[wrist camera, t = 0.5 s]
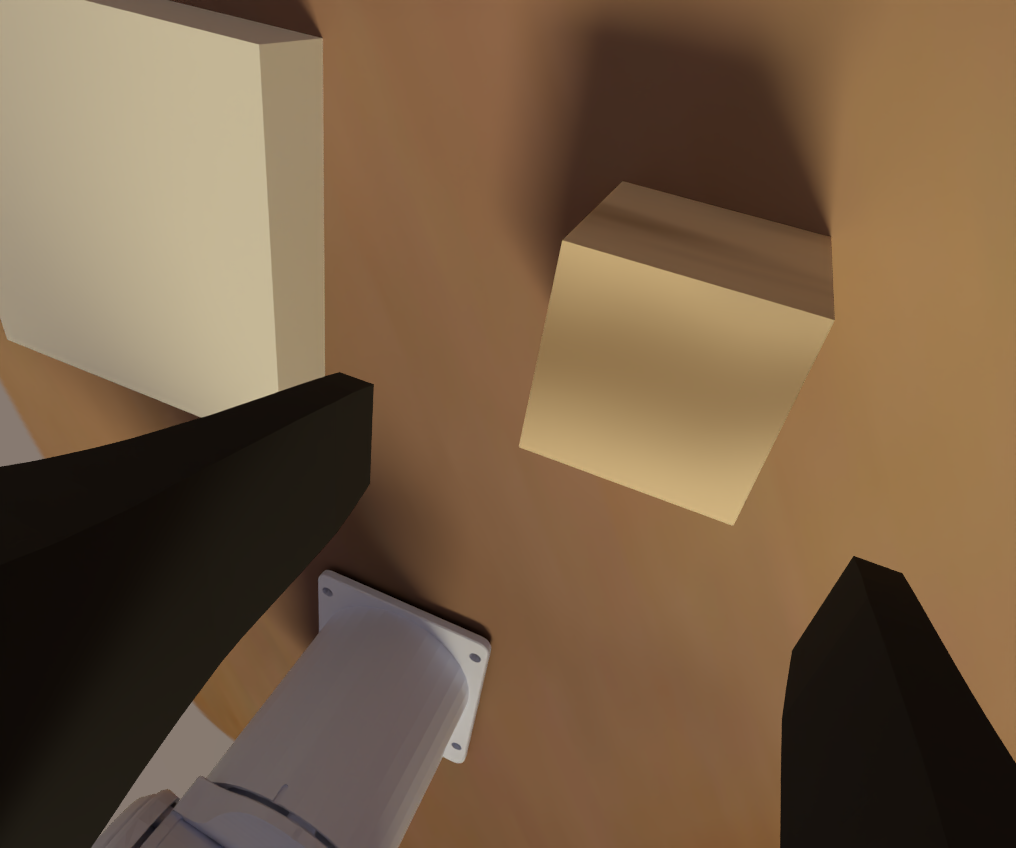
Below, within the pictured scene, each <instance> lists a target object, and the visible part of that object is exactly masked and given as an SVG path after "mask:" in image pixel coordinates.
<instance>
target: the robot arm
mask: <svg viewBox="0 0 1016 848" xmlns="http://www.w3.org/2000/svg"><path fill="white" fill-rule="evenodd" d="M373 387H374V384H371V383H368V382H365V381H363V380H360V379H357V378H354V377H351V376H349V375H346V374H343V373H340V372H339V373H335V374H331V375H328V376H324V377H321V378H318V379H315V380H312V381H309V382H306V383H303V384H300V385H297V386H294V387H291V388H288V389H285V390H282V391H279V392H276V393H273V394H271V395H268V396H265V397H262V398H259V399H256V400H253V401H250V402H247V403H244V404H241V405H238V406H235V407H232V408H229V409H226V410H223V411H221V412H218V413H215V414H212V415H209V416H205V417H202V418H199V419H195V420H192V421H189V422H185V423H182V424H179V425H175V426H172V427H169V428H165V429H162V430H159V431H155V432H152V433H149V434H145V435H142V436H139V437H135V438H131V439H128V440H124V441H120V442H116V443H112V444H108V445H104V446H100V447H96V448H92V449H88V450H83V451H79V452H74V453H70V454H65V455H61V456H56V457H51V458H47V459H42V460H37V461H32V462H26V463H20V464H14V465H9V466H2V467H0V848H398V847H399V845H400V843H401V841H402V839H403V837H404V835H405V833H406V831H407V828H408V826H409V824H410V822H411V820H412V818H413V816H414V814H415V812H416V810H417V808H418V806H419V804H420V802H421V800H422V798H423V796H424V794H425V792H426V790H427V788H428V786H429V784H430V782H431V780H432V778H433V776H434V774H435V772H436V769H437V767H438V765H439V763H440V761H441V759H442V757H444V758H446V759H449V760H451V761H453V762H455V763H462V762H463V761H464V760H465V758H466V755H467V751H468V747H469V743H470V738H471V734H472V730H473V726H474V721H475V717H476V713H477V708H478V704H479V700H480V695H481V691H482V687H483V682H484V678H485V674H486V669H487V665H488V661H489V656H490V652H491V645H490V643H489V641H488V640H487V639H486V638H484V637H482V636H480V635H478V634H475V633H473V632H471V631H468V630H466V629H464V628H462V627H459V626H457V625H455V624H452V623H450V622H448V621H446V620H443V619H441V618H439V617H436V616H434V615H432V614H430V613H427V612H425V611H423V610H421V609H418V608H416V607H414V606H411V605H409V604H407V603H405V602H402V601H400V600H398V599H395V598H393V597H391V596H389V595H386V594H384V593H382V592H379V591H377V590H375V589H373V588H370V587H368V586H366V585H363V584H361V583H359V582H357V581H354V580H352V579H350V578H347V577H345V576H343V575H341V574H338V573H336V572H334V571H331V570H325V571H323V572H322V574H321V575H320V576H319V578H318V600H319V633H318V635H317V636H316V637H315V639H314V640H313V641H312V642H311V644H310V645H309V646H308V648H307V649H306V650H305V651H304V653H303V654H302V655H301V657H300V658H299V659H298V660H297V662H296V663H295V664H294V666H293V667H292V668H291V669H290V671H289V672H288V673H287V675H286V676H285V677H284V678H283V680H282V681H281V682H280V684H279V685H278V686H277V687H276V689H275V690H274V691H273V693H272V694H271V695H270V696H269V698H268V699H267V700H266V702H265V703H264V704H263V705H262V707H261V708H260V709H259V711H258V712H257V713H256V714H255V716H254V717H253V718H252V720H251V721H250V722H249V723H248V725H247V726H246V727H245V729H244V730H243V731H242V732H241V734H240V735H239V736H238V738H237V739H236V740H235V741H234V743H233V744H232V745H231V747H230V748H229V749H228V750H227V752H226V753H225V754H224V756H223V757H222V758H221V759H220V761H219V762H218V764H217V765H216V766H215V767H214V768H213V770H212V771H211V772H210V774H209V775H208V776H207V777H206V778H204V777H203V776H199V777H198V778H197V779H196V781H195V782H194V783H193V784H192V786H191V787H190V788H189V789H188V791H187V792H186V793H185V795H184V796H183V797H182V798H181V800H180V799H179V798H178V797H177V796H176V795H175V794H174V793H173V792H172V791H170V790H168V789H166V790H161V791H160V792H158V793H157V794H152V795H148V796H145V797H141V798H139V799H137V800H136V801H134V802H133V803H132V804H131V805H130V806H129V807H128V808H126V809H125V810H124V811H123V812H122V813H121V814H120V815H119V816H118V817H117V818H116V819H115V820H114V822H112V823H111V825H109V827H108V828H107V829H106V830H105V831H104V832H103V833H102V834H101V832H102V831H103V829H104V828H105V826H106V825H107V823H108V822H109V820H110V819H111V817H112V816H113V814H114V813H115V811H116V810H117V808H118V807H119V805H120V804H121V802H122V800H123V799H124V798H125V796H126V795H127V793H128V792H129V790H130V789H131V787H132V786H133V784H134V783H135V781H136V780H137V778H138V777H139V775H140V774H141V772H142V771H143V769H144V768H145V766H146V765H147V764H148V763H149V761H150V759H151V758H152V757H153V755H154V754H155V753H156V751H157V750H158V748H159V747H160V745H161V744H162V743H163V741H164V740H165V738H166V737H167V736H168V734H169V733H170V731H171V730H172V728H173V727H174V726H175V724H176V723H177V721H178V720H179V718H180V717H181V716H182V714H183V713H184V712H185V710H186V709H187V708H188V706H189V705H190V704H191V702H192V701H193V700H194V698H195V697H196V696H197V694H198V693H199V692H200V690H201V689H202V687H203V686H204V685H205V683H206V682H207V681H208V679H209V678H210V677H211V675H212V674H213V673H214V671H215V670H216V669H217V667H218V666H219V665H220V663H221V662H222V661H223V660H224V658H225V657H226V656H227V655H228V654H229V652H230V651H231V650H232V649H233V648H234V646H235V645H236V644H237V643H238V642H239V641H240V639H241V638H242V637H243V636H244V635H245V634H246V633H247V631H248V630H249V629H250V628H251V627H252V626H253V625H254V624H255V623H256V622H257V620H258V619H259V618H260V617H261V616H262V615H263V614H264V613H265V612H266V611H267V610H268V608H269V607H270V606H271V605H272V604H273V603H274V602H275V601H276V600H277V599H278V597H279V596H280V595H281V594H282V593H283V592H284V591H285V590H286V589H287V588H288V586H289V585H290V584H291V583H292V582H293V581H294V580H295V579H296V578H297V577H298V576H299V574H300V573H301V572H302V571H303V570H304V569H305V568H306V567H307V566H308V564H309V563H310V562H311V561H312V560H313V559H314V558H315V557H316V556H317V554H318V553H319V552H320V551H321V550H322V549H323V548H324V547H325V545H326V544H327V543H328V542H329V541H330V540H331V539H332V537H333V536H334V535H335V534H336V533H337V531H338V530H339V529H340V527H341V526H342V524H343V523H344V521H345V520H346V519H347V517H348V516H349V514H350V513H351V512H352V510H353V509H354V507H355V506H356V504H357V503H358V501H359V500H360V498H361V497H362V495H363V494H364V492H365V490H366V489H367V487H368V486H369V484H370V466H371V440H372V413H373ZM179 800H180V801H179ZM100 834H101V835H100ZM99 835H100V836H99ZM97 838H98V839H97ZM780 848H1016V763H1015V761H1014V760H1013V758H1012V757H1011V755H1010V754H1009V752H1008V750H1007V749H1006V747H1005V746H1004V744H1003V743H1002V741H1001V739H1000V738H999V736H998V735H997V733H996V731H995V730H994V728H993V727H992V725H991V723H990V722H989V720H988V719H987V717H986V715H985V714H984V712H983V710H982V709H981V707H980V705H979V704H978V702H977V700H976V699H975V697H974V696H973V694H972V692H971V691H970V689H969V687H968V685H967V684H966V682H965V680H964V679H963V677H962V675H961V674H960V672H959V670H958V668H957V667H956V665H955V663H954V662H953V660H952V658H951V656H950V655H949V653H948V651H947V649H946V648H945V646H944V644H943V643H942V641H941V639H940V637H939V636H938V634H937V632H936V630H935V629H934V627H933V625H932V623H931V622H930V620H929V618H928V616H927V615H926V613H925V611H924V609H923V607H922V606H921V604H920V602H919V601H918V599H917V597H916V595H915V594H914V592H913V590H912V589H911V587H910V585H909V584H908V582H907V580H906V579H905V577H904V575H903V574H902V573H900V572H897V571H894V570H891V569H889V568H886V567H883V566H880V565H877V564H875V563H872V562H869V561H866V560H863V559H861V558H858V557H855V556H853V558H852V559H851V561H850V562H849V564H848V565H847V567H846V569H845V570H844V572H843V573H842V575H841V576H840V578H839V579H838V581H837V582H836V584H835V585H834V587H833V589H832V590H831V592H830V593H829V595H828V596H827V598H826V599H825V601H824V602H823V604H822V605H821V607H820V609H819V610H818V612H817V613H816V615H815V616H814V618H813V619H812V621H811V622H810V624H809V625H808V627H807V629H806V630H805V632H804V633H803V635H802V636H801V638H800V639H799V641H798V642H797V644H796V645H795V647H794V649H793V650H792V655H791V661H790V668H789V674H788V680H787V687H786V694H785V701H784V709H783V716H782V745H781V832H780Z"/></svg>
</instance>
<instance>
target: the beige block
mask: <svg viewBox="0 0 1016 848" xmlns="http://www.w3.org/2000/svg"><path fill="white" fill-rule="evenodd" d="M0 318H1V321H2V325H3V328H4V331H5V334H6V337H7V340H10V341H12V342H15V343H17V344H20V345H22V346H25V347H27V348H30V349H32V350H35V351H37V352H40V353H42V354H44V355H47V356H49V357H52V358H54V359H57V360H59V361H62V362H64V363H67V364H69V365H72V366H74V367H77V368H79V369H82V370H84V371H87V372H89V373H92V374H94V375H97V376H99V377H102V378H104V379H107V380H109V381H112V382H114V383H117V384H119V385H122V386H124V387H127V388H129V389H132V390H134V391H136V392H139V393H141V394H144V395H146V396H149V397H151V398H154V399H156V400H159V401H161V402H164V403H166V404H169V405H171V406H174V407H176V408H179V409H181V410H184V411H186V412H189V413H191V414H194V415H196V416H199V417H201V418H202V417H205V416H209V415H212V414H215V413H218V412H221V411H223V410H226V409H229V408H232V407H235V406H238V405H241V404H244V403H247V402H250V401H253V400H256V399H259V398H262V397H265V396H268V395H271V394H273V393H276V392H279V391H282V390H285V389H288V388H291V387H294V386H297V385H300V384H303V383H306V382H309V381H312V380H315V379H318V378H321V377H324V376H325V305H324V147H323V38H320V37H316V36H312V35H308V34H304V33H300V32H296V31H292V30H288V29H283V28H279V27H275V26H271V25H267V24H263V23H259V22H255V21H251V20H247V19H243V18H239V17H235V16H231V15H227V14H222V13H218V12H214V11H210V10H206V9H202V8H198V7H194V6H190V5H186V4H182V3H178V2H174V1H170V0H0Z"/></svg>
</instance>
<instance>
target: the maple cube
mask: <svg viewBox="0 0 1016 848" xmlns="http://www.w3.org/2000/svg"><path fill="white" fill-rule="evenodd" d="M834 320H835V317H834V294H833V270H832V247H831V237H829V236H825V235H821V234H818V233H814V232H810V231H806V230H803V229H799V228H795V227H792V226H788V225H784V224H780V223H777V222H773V221H769V220H766V219H762V218H758V217H754V216H751V215H747V214H743V213H739V212H736V211H732V210H728V209H725V208H721V207H717V206H713V205H710V204H706V203H702V202H699V201H695V200H691V199H687V198H684V197H680V196H676V195H672V194H669V193H665V192H661V191H658V190H654V189H650V188H646V187H643V186H639V185H635V184H632V183H628V182H624V181H622V182H621V183H620V184H619V185H618V186H617V187H616V188H615V189H614V190H613V191H612V192H611V193H610V194H609V195H608V196H607V197H606V198H605V199H604V200H603V201H602V202H601V203H600V204H599V205H598V206H597V207H596V208H595V209H594V210H593V211H592V212H591V213H589V214H588V215H587V216H586V217H585V218H584V219H583V220H582V221H581V222H580V223H579V224H578V225H577V226H576V227H575V228H574V229H573V230H572V231H571V232H570V233H569V234H568V235H567V236H566V237H565V238H564V239H563V240H562V244H561V249H560V253H559V258H558V263H557V268H556V273H555V277H554V282H553V287H552V292H551V296H550V301H549V306H548V311H547V315H546V320H545V325H544V330H543V334H542V339H541V344H540V349H539V354H538V358H537V363H536V368H535V373H534V377H533V382H532V387H531V392H530V396H529V401H528V406H527V411H526V415H525V420H524V425H523V430H522V435H521V439H520V444H519V447H520V448H523V449H526V450H528V451H531V452H534V453H537V454H539V455H542V456H545V457H547V458H550V459H553V460H556V461H558V462H561V463H564V464H566V465H569V466H572V467H575V468H577V469H580V470H583V471H585V472H588V473H591V474H594V475H596V476H599V477H602V478H605V479H607V480H610V481H613V482H615V483H618V484H621V485H624V486H626V487H629V488H632V489H634V490H637V491H640V492H643V493H645V494H648V495H651V496H653V497H656V498H659V499H662V500H664V501H667V502H670V503H672V504H675V505H678V506H681V507H683V508H686V509H689V510H692V511H694V512H697V513H700V514H702V515H705V516H708V517H711V518H713V519H716V520H719V521H721V522H724V523H727V524H730V525H732V526H733V525H734V523H735V521H736V519H737V517H738V515H739V513H740V511H741V509H742V507H743V505H744V503H745V501H746V499H747V497H748V495H749V493H750V491H751V489H752V487H753V485H754V483H755V481H756V478H757V476H758V474H759V472H760V470H761V468H762V466H763V464H764V462H765V460H766V458H767V456H768V454H769V452H770V450H771V448H772V446H773V444H774V442H775V440H776V438H777V436H778V434H779V432H780V430H781V428H782V426H783V424H784V422H785V420H786V418H787V416H788V414H789V412H790V410H791V408H792V406H793V404H794V402H795V399H796V397H797V395H798V393H799V391H800V389H801V387H802V385H803V383H804V381H805V379H806V377H807V375H808V373H809V371H810V369H811V367H812V365H813V363H814V361H815V359H816V357H817V355H818V353H819V351H820V349H821V347H822V345H823V343H824V341H825V339H826V337H827V335H828V333H829V331H830V329H831V327H832V325H833V323H834Z"/></svg>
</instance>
